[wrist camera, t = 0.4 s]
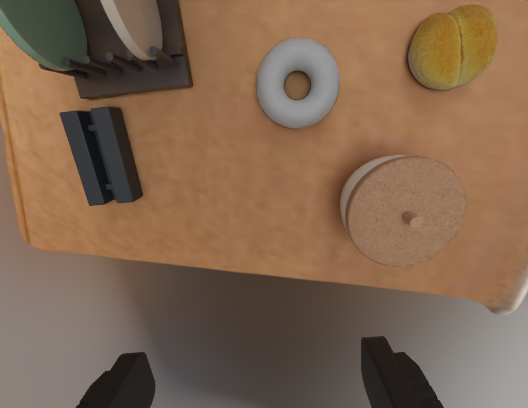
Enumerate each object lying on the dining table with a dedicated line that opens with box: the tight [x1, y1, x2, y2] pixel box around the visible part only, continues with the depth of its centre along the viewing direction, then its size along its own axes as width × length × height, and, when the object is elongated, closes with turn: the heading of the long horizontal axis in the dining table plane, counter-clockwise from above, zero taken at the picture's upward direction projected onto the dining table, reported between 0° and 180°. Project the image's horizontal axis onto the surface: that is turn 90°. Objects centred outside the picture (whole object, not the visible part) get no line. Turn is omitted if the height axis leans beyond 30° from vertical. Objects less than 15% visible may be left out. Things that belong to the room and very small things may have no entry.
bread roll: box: [408, 5, 498, 90], centre depth 29 cm, size 8×9×4 cm
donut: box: [256, 37, 340, 129], centre depth 31 cm, size 10×4×10 cm
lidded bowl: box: [340, 155, 467, 266], centre depth 31 cm, size 13×13×11 cm
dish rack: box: [39, 0, 193, 99], centre depth 28 cm, size 15×14×8 cm
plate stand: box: [60, 107, 143, 206], centre depth 35 cm, size 12×6×3 cm, turn 6°
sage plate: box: [0, 0, 87, 71], centre depth 25 cm, size 11×1×11 cm, turn 6°
